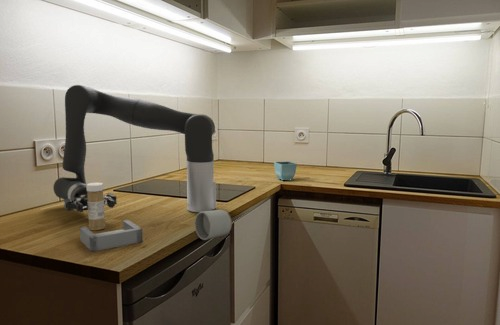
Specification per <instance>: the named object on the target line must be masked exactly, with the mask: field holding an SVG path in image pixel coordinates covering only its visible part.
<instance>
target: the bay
mask: <svg viewBox="0 0 500 325" xmlns="http://www.w3.org/2000/svg"><path fill="white" fill-rule="evenodd" d="M79 238H80V239H79V240H80V241H81V243H82V244H83V245H84V246H85V247H86V248H87V249H88V250H89V251H90V252H91V253H92V252H98V251H102V250H108V249H113V248H117V247H118V248H119V247H124V246H127V245H132V244H138V243H142V242H144V241H143V228H142V227H140V226H138V225H137V224H135V223H134V222H132V221H131V220H129V219H125V220H122V229H116V230H111V231H110V230H109V231H104V232H98V233H93V232H92V230H90V229H89V227H87V226H82V227H80V226H79Z"/></svg>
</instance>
